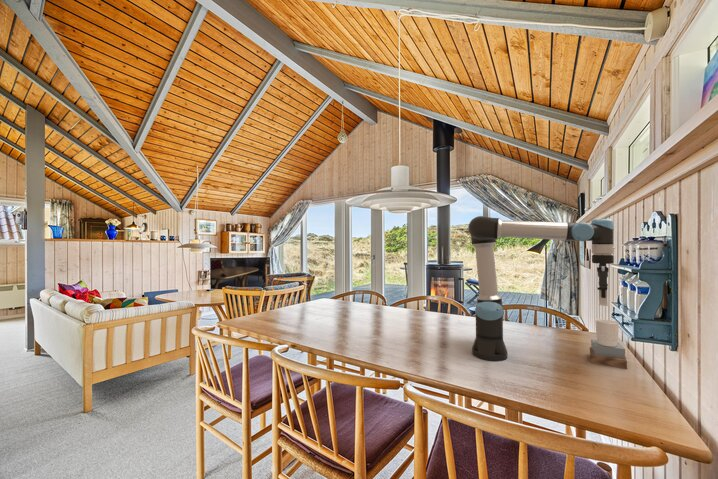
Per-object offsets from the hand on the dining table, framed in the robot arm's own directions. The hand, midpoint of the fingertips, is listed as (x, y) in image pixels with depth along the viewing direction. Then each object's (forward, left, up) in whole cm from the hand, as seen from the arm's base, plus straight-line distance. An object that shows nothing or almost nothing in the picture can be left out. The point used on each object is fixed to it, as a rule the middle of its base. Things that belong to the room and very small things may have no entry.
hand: (603, 303), depth 137 cm
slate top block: (+1, 0, -22) cm, 22 cm away
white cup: (+1, -1, -18) cm, 18 cm away
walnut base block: (+1, -1, -26) cm, 26 cm away
